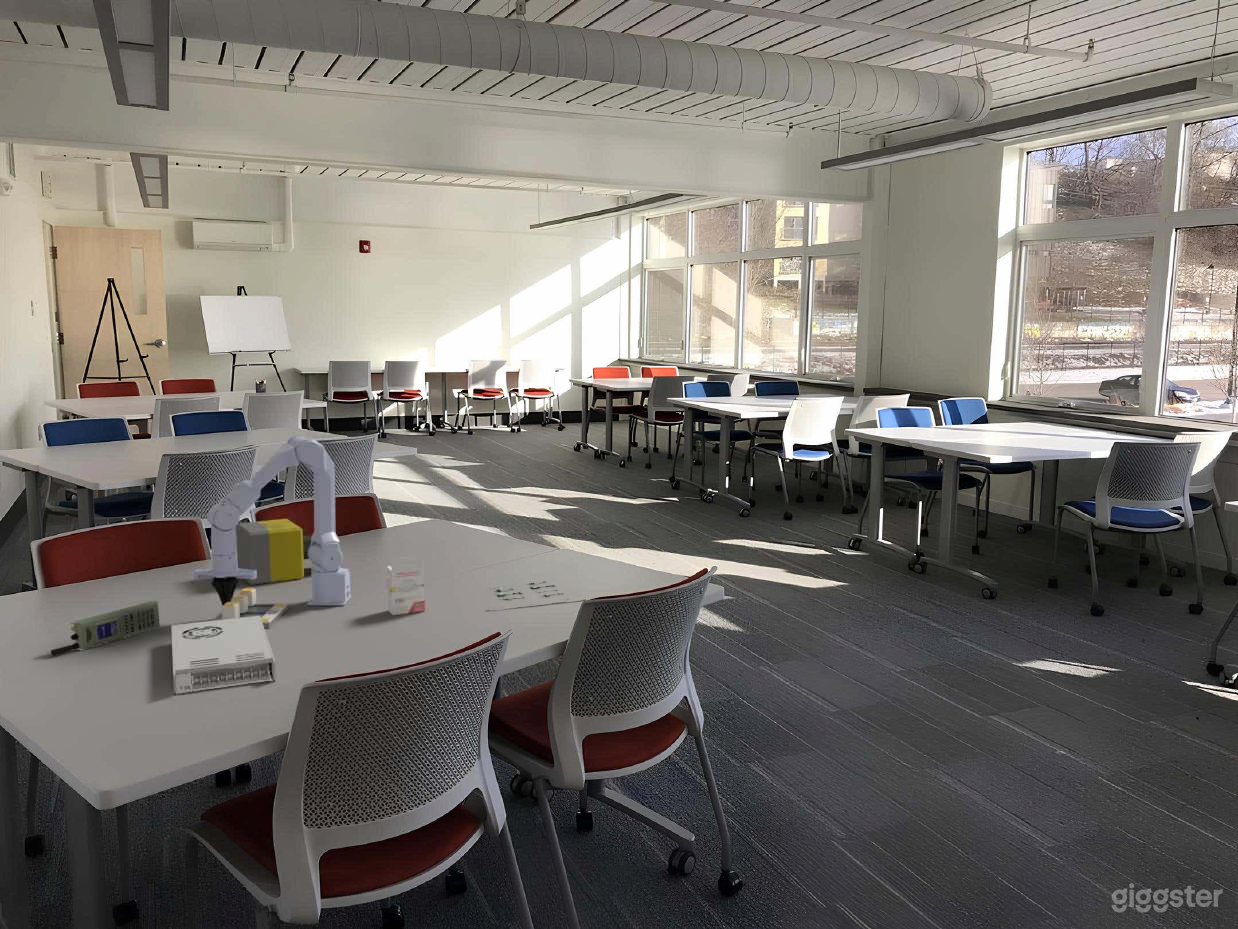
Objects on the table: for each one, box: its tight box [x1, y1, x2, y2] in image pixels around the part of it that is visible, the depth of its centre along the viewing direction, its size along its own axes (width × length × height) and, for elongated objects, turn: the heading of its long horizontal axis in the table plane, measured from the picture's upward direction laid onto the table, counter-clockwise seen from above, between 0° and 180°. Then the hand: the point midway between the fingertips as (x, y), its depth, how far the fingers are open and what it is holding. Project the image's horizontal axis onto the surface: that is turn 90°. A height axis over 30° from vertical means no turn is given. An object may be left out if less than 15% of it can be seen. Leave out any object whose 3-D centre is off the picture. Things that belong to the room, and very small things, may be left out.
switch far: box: [239, 587, 257, 606], centre depth 238 cm, size 3×3×4 cm
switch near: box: [221, 602, 240, 620], centre depth 226 cm, size 3×3×4 cm
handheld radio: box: [50, 600, 161, 657], centre depth 214 cm, size 7×3×25 cm
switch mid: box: [231, 594, 248, 613], centre depth 232 cm, size 3×3×4 cm
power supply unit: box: [171, 616, 277, 693], centre depth 203 cm, size 19×33×5 cm, turn 26°
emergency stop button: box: [236, 518, 313, 586], centre depth 272 cm, size 15×24×15 cm, turn 124°
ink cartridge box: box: [386, 555, 426, 616], centre depth 240 cm, size 9×5×15 cm, turn 116°
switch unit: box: [212, 602, 290, 629], centre depth 233 cm, size 14×16×2 cm
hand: (227, 607), depth 232 cm, fingers closed
